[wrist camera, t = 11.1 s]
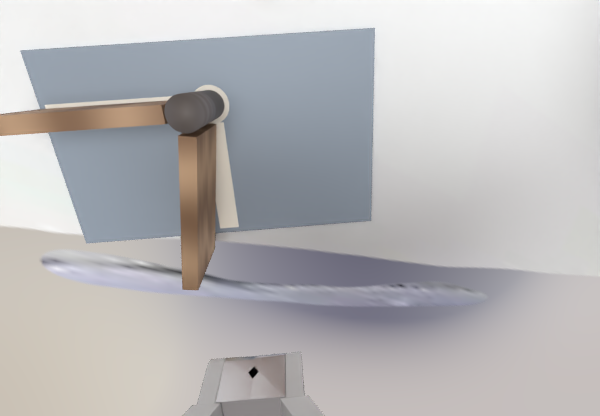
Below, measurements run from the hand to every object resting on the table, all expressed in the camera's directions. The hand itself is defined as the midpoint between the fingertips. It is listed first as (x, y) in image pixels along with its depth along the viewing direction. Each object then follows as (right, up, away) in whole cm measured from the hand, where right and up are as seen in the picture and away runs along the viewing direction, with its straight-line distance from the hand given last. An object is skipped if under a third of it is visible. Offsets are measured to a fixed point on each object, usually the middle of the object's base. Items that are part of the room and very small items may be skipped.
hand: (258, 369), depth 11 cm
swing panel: (-7, +7, +19) cm, 22 cm away
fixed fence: (-12, +14, +17) cm, 25 cm away
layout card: (-6, +11, +18) cm, 22 cm away
